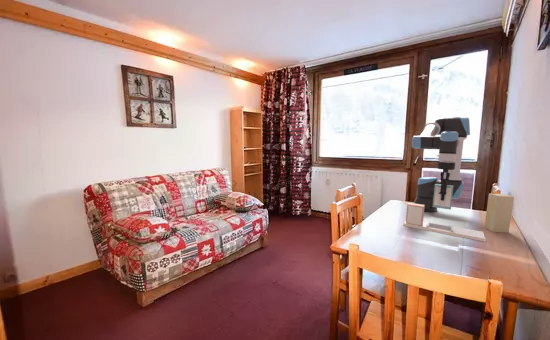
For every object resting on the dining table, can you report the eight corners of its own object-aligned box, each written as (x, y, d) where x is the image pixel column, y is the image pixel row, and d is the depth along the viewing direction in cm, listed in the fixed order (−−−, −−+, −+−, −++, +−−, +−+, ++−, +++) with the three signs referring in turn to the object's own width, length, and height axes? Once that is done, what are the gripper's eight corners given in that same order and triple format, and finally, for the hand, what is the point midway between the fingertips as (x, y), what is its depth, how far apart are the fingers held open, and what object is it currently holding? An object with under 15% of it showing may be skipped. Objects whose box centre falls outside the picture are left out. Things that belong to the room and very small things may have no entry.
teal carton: (433, 205, 136) (435, 183, 135) (450, 207, 132) (453, 185, 130) (432, 207, 132) (434, 184, 131) (450, 209, 128) (453, 186, 126)
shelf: (407, 220, 153) (407, 215, 152) (482, 234, 132) (483, 228, 132) (402, 227, 140) (403, 222, 140) (485, 244, 119) (486, 237, 119)
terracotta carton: (406, 222, 145) (408, 202, 143) (422, 225, 140) (424, 204, 139) (405, 224, 141) (407, 204, 139) (421, 227, 136) (423, 206, 135)
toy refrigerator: (498, 230, 139) (503, 193, 136) (509, 235, 132) (514, 196, 129) (482, 229, 140) (487, 193, 137) (492, 234, 133) (498, 196, 130)
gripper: (438, 160, 138) (434, 200, 141) (436, 162, 124) (432, 207, 127) (455, 161, 134) (450, 203, 137) (455, 163, 120) (450, 210, 123)
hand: (441, 205), depth 132 cm, fingers closed on teal carton, 5 cm apart
